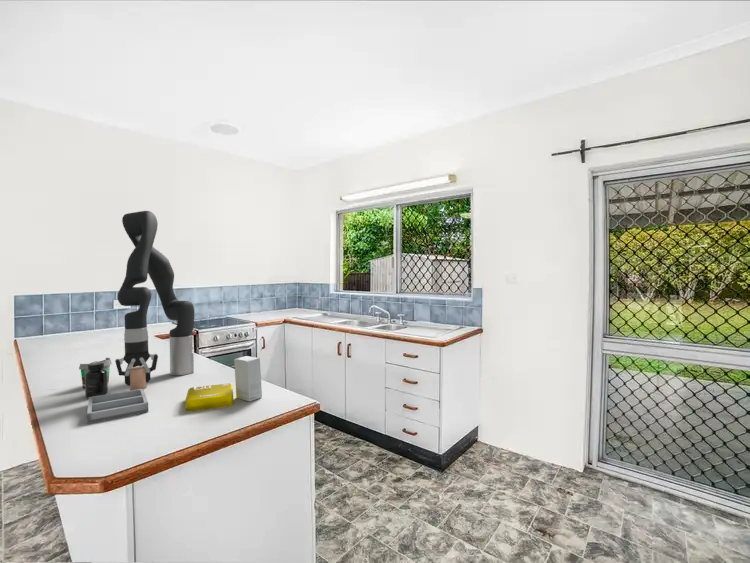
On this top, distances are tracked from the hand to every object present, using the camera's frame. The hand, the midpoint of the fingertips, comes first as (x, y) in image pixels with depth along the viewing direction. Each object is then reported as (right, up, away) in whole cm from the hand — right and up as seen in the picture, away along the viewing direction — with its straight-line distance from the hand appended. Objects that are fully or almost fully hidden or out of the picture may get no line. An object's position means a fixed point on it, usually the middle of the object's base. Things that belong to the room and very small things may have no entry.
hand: (137, 383), depth 141 cm
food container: (-23, -4, +11) cm, 25 cm away
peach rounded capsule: (0, -2, 0) cm, 2 cm away
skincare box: (+44, -4, -5) cm, 44 cm away
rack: (+3, -4, -15) cm, 16 cm away
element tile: (+32, -5, -9) cm, 33 cm away
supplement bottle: (-14, -4, -2) cm, 15 cm away
